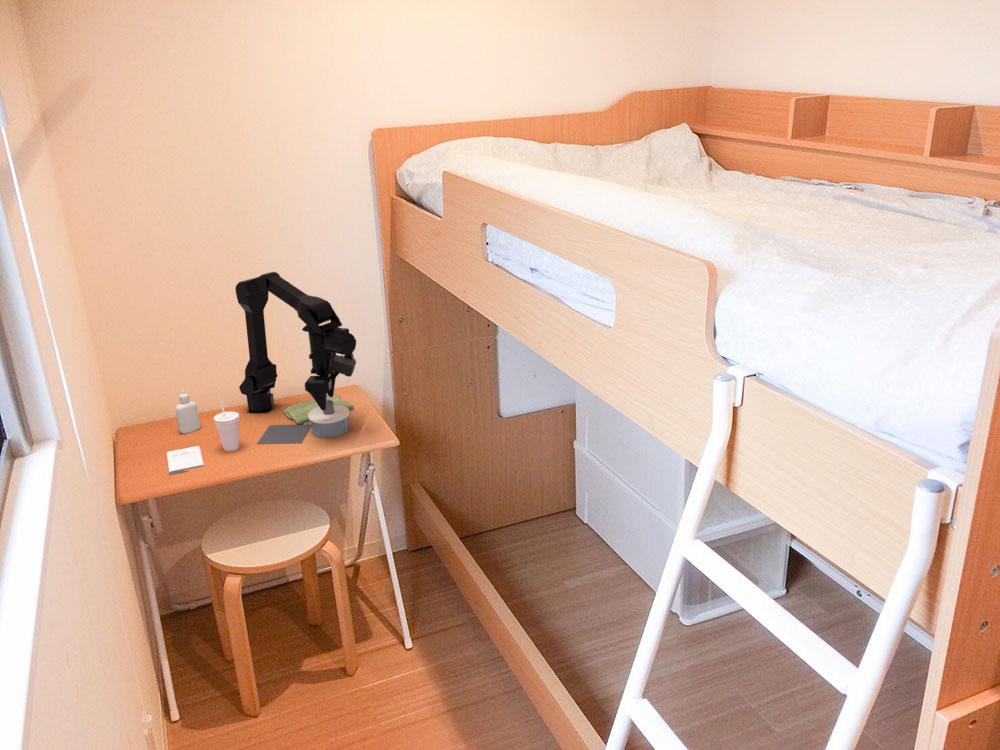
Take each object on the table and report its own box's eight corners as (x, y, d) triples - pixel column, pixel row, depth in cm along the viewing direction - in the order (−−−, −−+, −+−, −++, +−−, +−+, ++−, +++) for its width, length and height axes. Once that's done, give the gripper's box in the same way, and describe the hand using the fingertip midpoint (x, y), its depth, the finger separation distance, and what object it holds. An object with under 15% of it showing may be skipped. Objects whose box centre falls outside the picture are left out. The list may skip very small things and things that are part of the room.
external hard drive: (170, 477, 197) (167, 457, 208) (204, 470, 200) (200, 450, 211) (168, 471, 197) (166, 451, 207) (203, 464, 200) (199, 444, 210)
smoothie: (215, 449, 210) (206, 400, 205) (238, 442, 214) (230, 394, 209) (224, 457, 205) (216, 407, 200) (248, 450, 209) (240, 400, 204)
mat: (256, 446, 211) (256, 444, 211) (269, 427, 222) (269, 425, 222) (301, 445, 211) (301, 443, 211) (312, 426, 222) (312, 424, 222)
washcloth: (281, 415, 231) (279, 405, 230) (336, 400, 241) (335, 390, 239) (299, 430, 221) (298, 419, 220) (356, 413, 231) (355, 403, 230)
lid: (304, 424, 211) (302, 410, 210) (313, 407, 222) (311, 395, 220) (345, 423, 211) (344, 409, 210) (352, 406, 221) (351, 394, 220)
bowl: (310, 439, 214) (308, 422, 212) (318, 425, 223) (316, 408, 221) (344, 438, 214) (342, 421, 212) (350, 424, 222) (349, 408, 221)
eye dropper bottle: (179, 428, 223) (172, 388, 219) (201, 425, 225) (194, 386, 220) (179, 434, 219) (171, 394, 215) (200, 431, 221) (193, 391, 216)
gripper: (345, 360, 201) (350, 416, 206) (358, 336, 218) (363, 389, 224) (300, 361, 201) (307, 417, 207) (317, 337, 218) (323, 390, 224)
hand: (327, 403), depth 215 cm, fingers open, 9 cm apart
